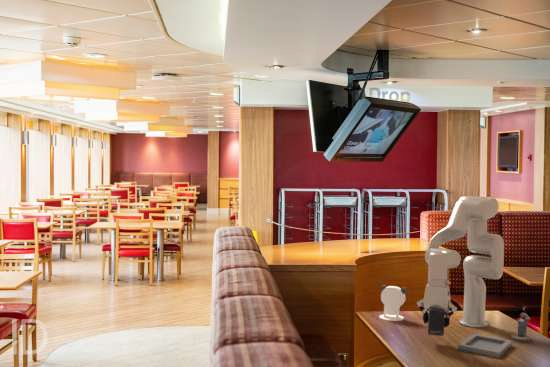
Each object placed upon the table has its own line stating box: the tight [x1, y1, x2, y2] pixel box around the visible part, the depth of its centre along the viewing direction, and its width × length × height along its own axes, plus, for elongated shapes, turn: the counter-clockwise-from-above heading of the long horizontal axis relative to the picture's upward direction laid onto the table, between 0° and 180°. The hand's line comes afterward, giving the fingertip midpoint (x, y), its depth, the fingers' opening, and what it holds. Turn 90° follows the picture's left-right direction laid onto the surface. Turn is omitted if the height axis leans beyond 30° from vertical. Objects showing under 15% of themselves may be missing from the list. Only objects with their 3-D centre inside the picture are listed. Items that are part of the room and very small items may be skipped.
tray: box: [457, 333, 513, 359], centre depth 267 cm, size 20×16×2 cm
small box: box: [427, 307, 446, 337], centre depth 269 cm, size 11×6×10 cm, turn 168°
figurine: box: [510, 312, 533, 344], centre depth 280 cm, size 8×8×12 cm
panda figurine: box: [379, 284, 408, 322], centre depth 310 cm, size 12×11×15 cm
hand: (436, 324), depth 269 cm, fingers closed on small box, 8 cm apart
